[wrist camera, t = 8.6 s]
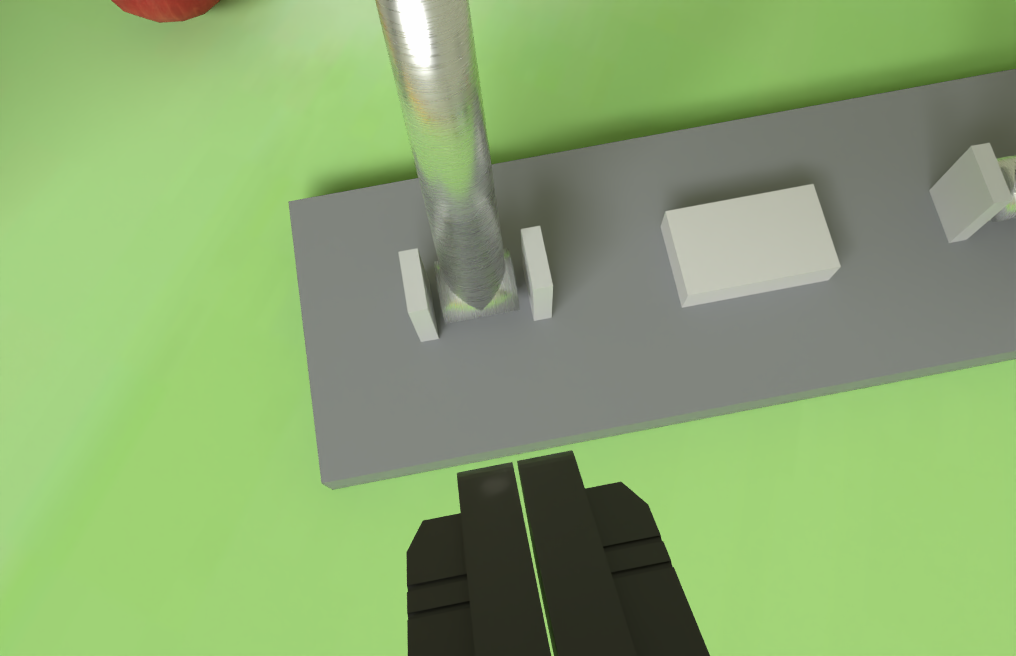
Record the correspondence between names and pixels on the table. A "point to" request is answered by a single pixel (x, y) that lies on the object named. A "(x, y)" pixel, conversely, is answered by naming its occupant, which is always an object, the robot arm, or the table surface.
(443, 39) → the metal lever
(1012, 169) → the silver metal rod
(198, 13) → the onion
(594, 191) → the switch panel
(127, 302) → the table surface
